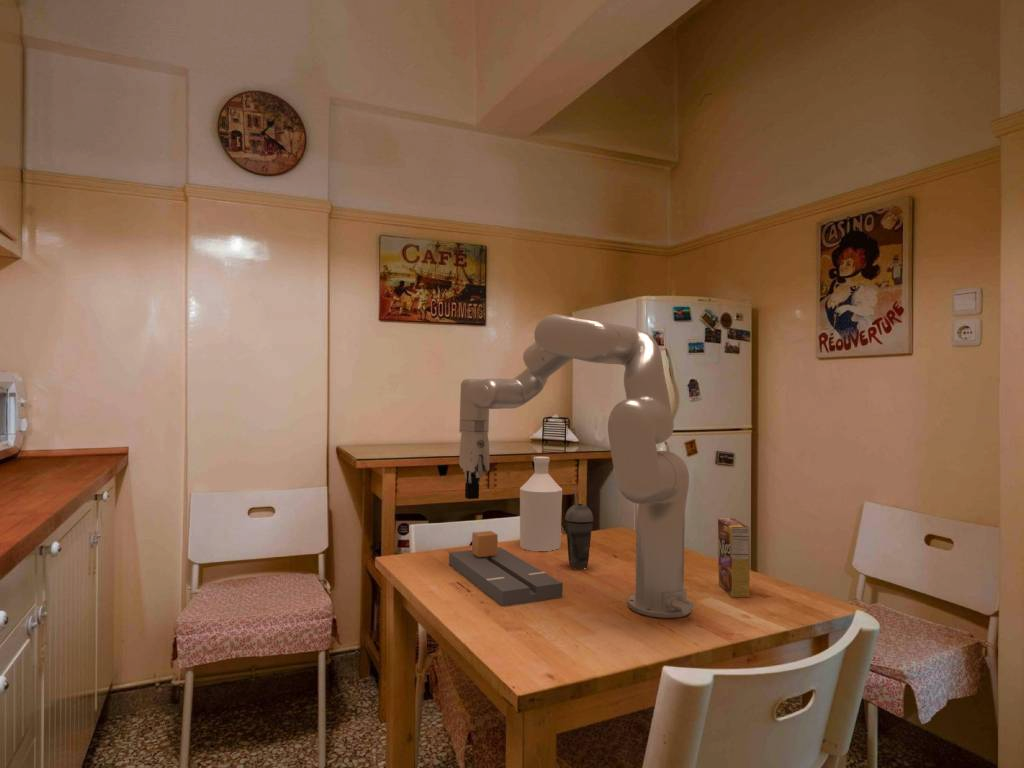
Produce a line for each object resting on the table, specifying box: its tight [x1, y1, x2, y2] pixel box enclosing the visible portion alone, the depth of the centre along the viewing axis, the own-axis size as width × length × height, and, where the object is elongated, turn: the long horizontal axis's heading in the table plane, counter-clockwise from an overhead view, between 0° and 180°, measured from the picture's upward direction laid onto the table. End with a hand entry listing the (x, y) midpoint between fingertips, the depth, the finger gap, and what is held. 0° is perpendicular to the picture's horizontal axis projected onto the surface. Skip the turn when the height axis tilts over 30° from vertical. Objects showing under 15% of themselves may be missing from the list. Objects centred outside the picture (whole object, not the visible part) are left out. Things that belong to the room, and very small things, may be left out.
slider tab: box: [471, 530, 498, 561], centre depth 150 cm, size 4×5×7 cm
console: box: [448, 546, 564, 607], centre depth 140 cm, size 32×14×3 cm, turn 25°
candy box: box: [717, 517, 751, 599], centre depth 135 cm, size 9×4×15 cm, turn 0°
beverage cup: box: [564, 485, 595, 570], centre depth 152 cm, size 7×7×20 cm
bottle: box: [519, 456, 563, 552], centre depth 171 cm, size 12×12×25 cm
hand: (471, 498), depth 157 cm, fingers closed
